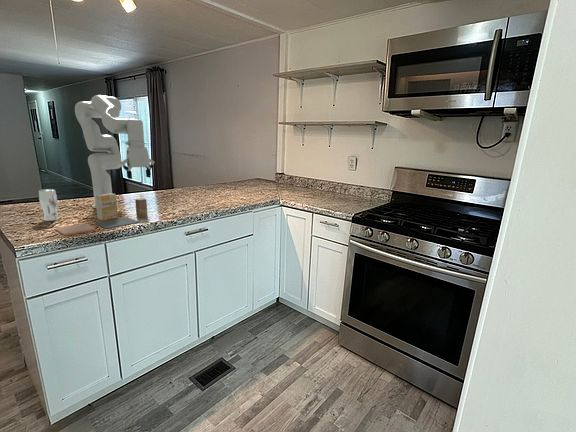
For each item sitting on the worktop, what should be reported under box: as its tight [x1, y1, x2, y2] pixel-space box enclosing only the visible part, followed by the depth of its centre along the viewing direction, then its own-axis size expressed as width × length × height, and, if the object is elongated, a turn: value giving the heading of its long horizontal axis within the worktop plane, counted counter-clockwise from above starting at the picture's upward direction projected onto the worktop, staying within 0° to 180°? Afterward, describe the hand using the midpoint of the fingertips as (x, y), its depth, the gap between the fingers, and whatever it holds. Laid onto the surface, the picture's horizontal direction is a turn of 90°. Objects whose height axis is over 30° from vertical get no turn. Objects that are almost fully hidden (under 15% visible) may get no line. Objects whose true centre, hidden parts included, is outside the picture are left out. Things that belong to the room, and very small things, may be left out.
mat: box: [94, 216, 140, 230], centre depth 155 cm, size 13×16×1 cm
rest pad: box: [55, 223, 96, 237], centre depth 142 cm, size 12×12×1 cm
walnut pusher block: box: [134, 197, 148, 219], centre depth 166 cm, size 4×4×10 cm
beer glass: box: [38, 188, 60, 222], centre depth 155 cm, size 7×7×15 cm
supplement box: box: [95, 192, 119, 222], centre depth 160 cm, size 8×5×13 cm, turn 151°
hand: (139, 177), depth 162 cm, fingers open, 9 cm apart
